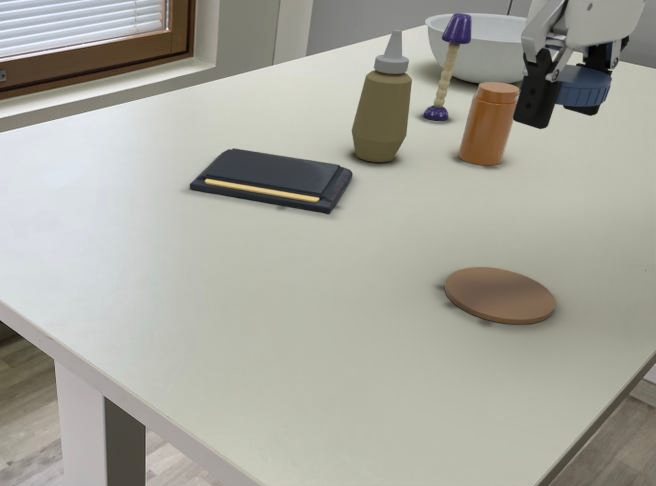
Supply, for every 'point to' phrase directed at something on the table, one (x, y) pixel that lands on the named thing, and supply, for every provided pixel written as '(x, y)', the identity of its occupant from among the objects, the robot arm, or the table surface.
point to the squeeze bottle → (383, 105)
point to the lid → (582, 86)
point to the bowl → (484, 47)
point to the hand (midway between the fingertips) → (555, 116)
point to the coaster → (500, 295)
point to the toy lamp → (450, 61)
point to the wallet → (275, 179)
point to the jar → (489, 123)
